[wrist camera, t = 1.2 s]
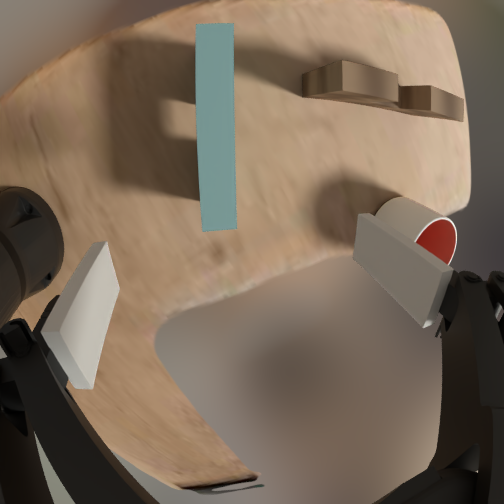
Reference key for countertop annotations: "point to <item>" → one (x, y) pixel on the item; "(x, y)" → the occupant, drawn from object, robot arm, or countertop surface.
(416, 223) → the cup
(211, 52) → the teal arch piece
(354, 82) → the u-notched wood block
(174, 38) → the countertop surface
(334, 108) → the countertop surface
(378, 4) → the countertop surface
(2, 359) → the robot arm
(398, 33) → the countertop surface
